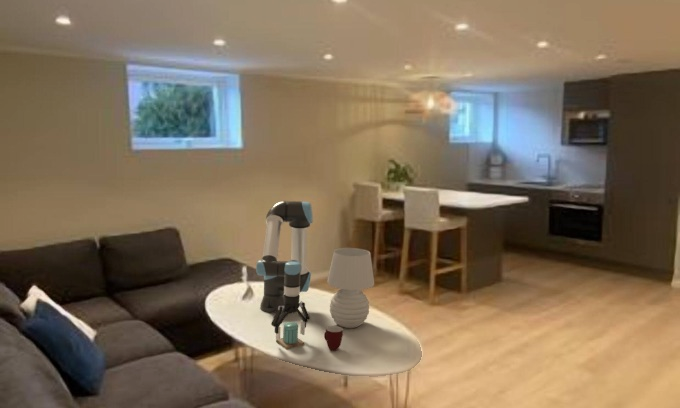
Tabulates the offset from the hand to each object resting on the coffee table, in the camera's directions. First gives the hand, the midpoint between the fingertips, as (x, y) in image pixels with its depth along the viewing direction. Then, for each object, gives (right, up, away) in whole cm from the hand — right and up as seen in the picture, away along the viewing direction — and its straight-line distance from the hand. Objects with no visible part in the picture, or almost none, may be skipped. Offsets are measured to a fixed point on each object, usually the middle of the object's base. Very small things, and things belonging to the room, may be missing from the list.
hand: (290, 336), depth 248 cm
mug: (+20, -5, -3) cm, 21 cm away
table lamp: (+29, -1, +29) cm, 41 cm away
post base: (0, -3, +1) cm, 3 cm away
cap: (0, -2, +1) cm, 2 cm away
